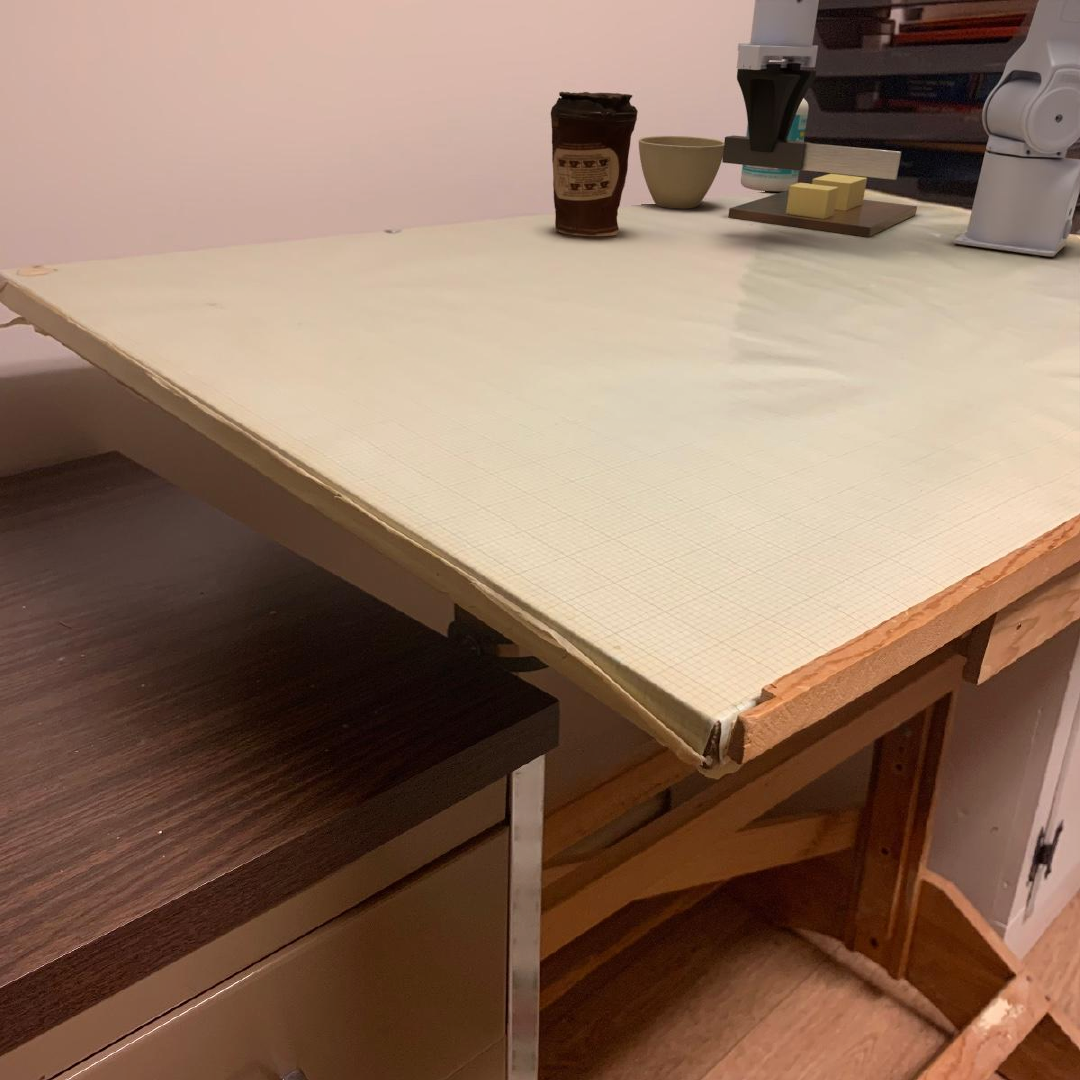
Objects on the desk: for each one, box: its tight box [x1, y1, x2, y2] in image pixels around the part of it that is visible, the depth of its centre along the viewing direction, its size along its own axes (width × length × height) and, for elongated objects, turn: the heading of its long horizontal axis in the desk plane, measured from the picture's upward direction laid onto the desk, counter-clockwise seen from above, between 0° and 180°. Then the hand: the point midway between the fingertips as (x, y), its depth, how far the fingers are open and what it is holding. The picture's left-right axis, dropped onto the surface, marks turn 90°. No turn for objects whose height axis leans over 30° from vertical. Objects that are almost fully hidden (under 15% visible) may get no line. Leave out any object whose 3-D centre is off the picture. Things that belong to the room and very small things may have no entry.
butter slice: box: [786, 182, 838, 219], centre depth 108 cm, size 4×3×3 cm
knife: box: [721, 134, 902, 181], centre depth 94 cm, size 17×2×2 cm, turn 56°
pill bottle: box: [740, 97, 810, 193], centre depth 128 cm, size 8×7×14 cm
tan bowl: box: [638, 135, 725, 209], centre depth 115 cm, size 10×10×7 cm
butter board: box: [727, 190, 918, 238], centre depth 114 cm, size 16×18×1 cm
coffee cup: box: [550, 91, 639, 237], centre depth 97 cm, size 9×8×13 cm
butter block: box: [811, 173, 868, 211], centre depth 114 cm, size 4×6×3 cm
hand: (766, 150), depth 96 cm, fingers closed on knife, 2 cm apart
